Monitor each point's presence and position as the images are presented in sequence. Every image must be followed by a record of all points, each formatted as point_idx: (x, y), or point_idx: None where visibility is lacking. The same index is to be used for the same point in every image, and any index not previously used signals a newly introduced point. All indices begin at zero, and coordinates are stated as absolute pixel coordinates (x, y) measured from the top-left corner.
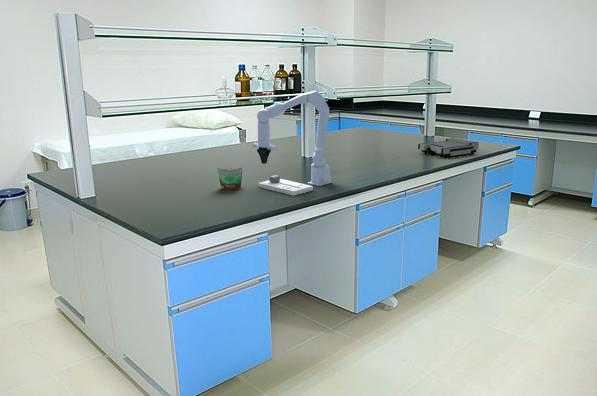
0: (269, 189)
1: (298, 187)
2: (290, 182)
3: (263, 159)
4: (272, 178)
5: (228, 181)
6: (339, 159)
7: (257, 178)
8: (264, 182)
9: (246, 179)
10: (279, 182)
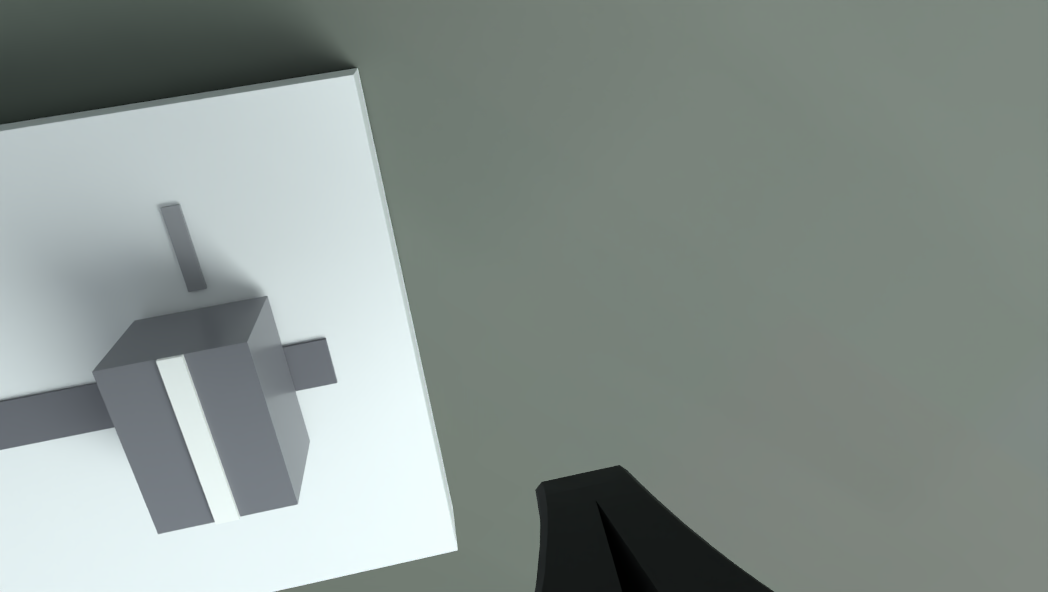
0: (24, 121)
1: None
2: (33, 578)
3: (537, 574)
4: (152, 349)
5: None
6: None
7: (856, 379)
8: (302, 199)
9: (938, 205)
10: None
